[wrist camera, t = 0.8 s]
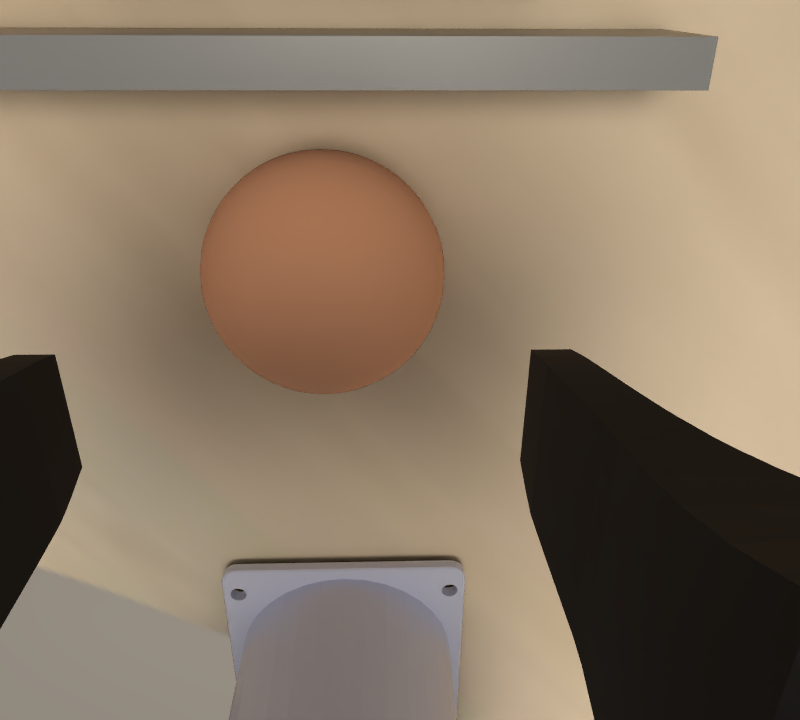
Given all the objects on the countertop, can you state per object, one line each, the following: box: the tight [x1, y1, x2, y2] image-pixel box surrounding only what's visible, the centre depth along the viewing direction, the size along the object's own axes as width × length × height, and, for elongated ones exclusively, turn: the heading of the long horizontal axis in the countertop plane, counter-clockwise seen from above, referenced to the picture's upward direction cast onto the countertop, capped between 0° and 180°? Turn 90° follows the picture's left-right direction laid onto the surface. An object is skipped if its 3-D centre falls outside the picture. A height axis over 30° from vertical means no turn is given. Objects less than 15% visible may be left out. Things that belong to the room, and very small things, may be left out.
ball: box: [200, 149, 444, 394], centre depth 16 cm, size 6×6×6 cm
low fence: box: [0, 28, 718, 90], centre depth 16 cm, size 1×16×3 cm, turn 90°
